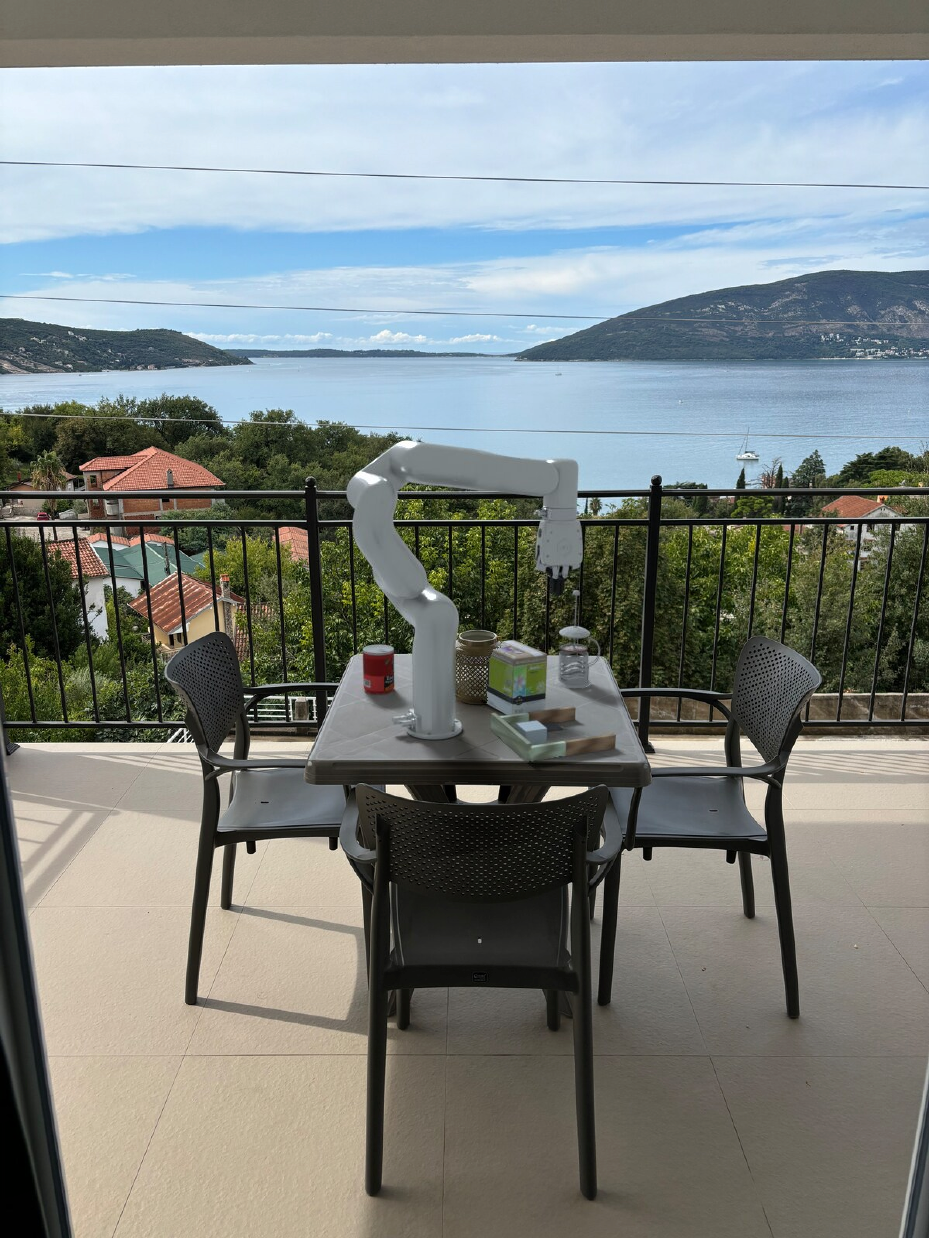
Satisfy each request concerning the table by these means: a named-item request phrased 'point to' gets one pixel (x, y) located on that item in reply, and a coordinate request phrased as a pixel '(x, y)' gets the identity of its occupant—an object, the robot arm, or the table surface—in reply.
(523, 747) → the trap lane
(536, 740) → the block
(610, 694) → the table surface
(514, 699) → the tea box
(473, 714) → the table surface
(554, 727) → the plate
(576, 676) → the french press
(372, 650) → the canned food
